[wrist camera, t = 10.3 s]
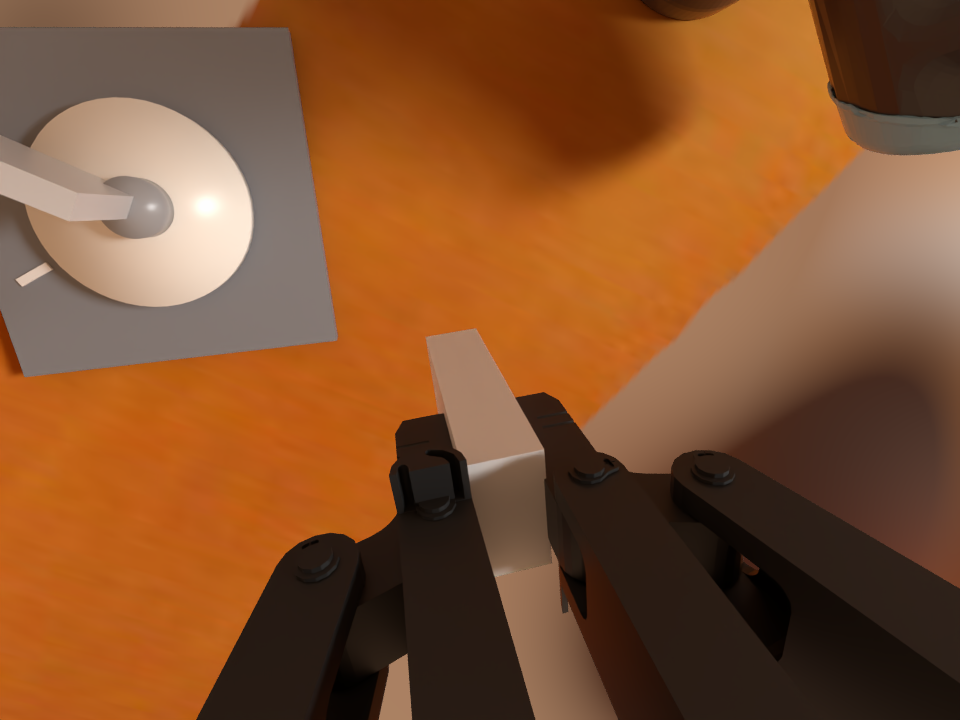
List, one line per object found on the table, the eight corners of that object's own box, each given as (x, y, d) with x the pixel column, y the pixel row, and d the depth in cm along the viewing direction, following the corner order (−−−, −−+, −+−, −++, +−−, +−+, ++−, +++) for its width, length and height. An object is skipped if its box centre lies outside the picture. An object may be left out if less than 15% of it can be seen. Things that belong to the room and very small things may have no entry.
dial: (281, 163, 38) (253, 146, 28) (218, 331, 40) (171, 370, 30) (16, 34, 32) (-135, -43, 22) (-40, 236, 34) (-199, 247, 25)
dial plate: (290, 34, 37) (287, 26, 35) (337, 336, 44) (336, 341, 42) (-81, 35, 32) (-104, 26, 31) (36, 371, 39) (22, 377, 38)
